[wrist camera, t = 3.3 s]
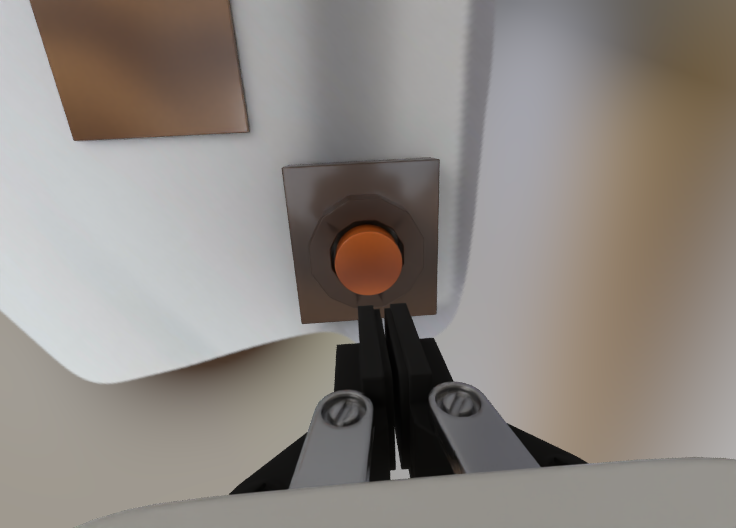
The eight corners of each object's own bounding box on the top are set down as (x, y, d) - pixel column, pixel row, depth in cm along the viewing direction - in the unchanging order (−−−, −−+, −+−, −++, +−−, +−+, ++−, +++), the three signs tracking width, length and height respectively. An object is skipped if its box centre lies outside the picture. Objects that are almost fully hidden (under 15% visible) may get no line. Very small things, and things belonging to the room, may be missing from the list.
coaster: (11, -75, 17) (3, -80, 17) (217, -81, 17) (214, -86, 17) (78, 140, 20) (73, 140, 20) (250, 132, 21) (248, 132, 20)
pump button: (333, 226, 19) (331, 233, 18) (397, 222, 19) (402, 229, 18) (338, 285, 20) (337, 298, 19) (398, 281, 21) (403, 293, 19)
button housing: (287, 165, 21) (274, 169, 18) (431, 157, 22) (448, 160, 18) (305, 309, 25) (297, 339, 21) (429, 300, 25) (443, 328, 21)
